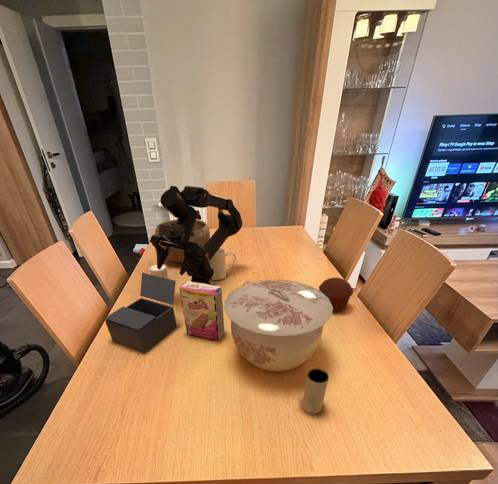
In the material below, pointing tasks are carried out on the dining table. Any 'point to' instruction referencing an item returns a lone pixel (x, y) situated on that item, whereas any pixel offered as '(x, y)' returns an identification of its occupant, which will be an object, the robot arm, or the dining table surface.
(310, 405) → the grey black-topped cylinder
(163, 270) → the shot glass
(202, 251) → the robot arm
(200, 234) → the bowl
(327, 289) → the muffin
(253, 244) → the dining table surface
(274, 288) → the chamber pot
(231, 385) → the dining table surface
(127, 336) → the carton
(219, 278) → the mug
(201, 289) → the candy bar box
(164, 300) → the flap
